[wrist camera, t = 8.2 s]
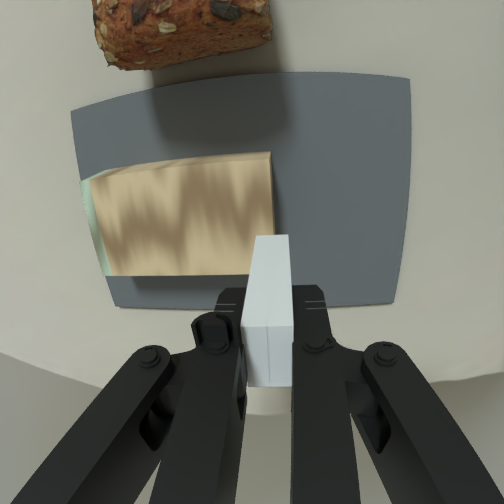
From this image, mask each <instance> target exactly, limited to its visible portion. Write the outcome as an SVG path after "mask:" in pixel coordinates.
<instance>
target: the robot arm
mask: <svg viewBox="0 0 504 504" xmlns="http://www.w3.org/2000/svg"><path fill="white" fill-rule="evenodd" d="M191 328H192V332H193V336H194V340H195V344H196V348H195V349H193V350H191V351H187V352H183V353H178V354H172V355H170V353H169V352H168V350H167V349H166V348H164V347H162V346H158V345H150V346H145V347H143V348H140V349H138V350H137V351H136V352H135V353H133V354H132V355H131V357H130V358H129V359H128V360H127V361H126V362H125V364H124V365H123V366H122V367H121V368H120V369H119V371H118V372H117V373H116V374H115V375H114V377H113V378H112V379H111V380H110V381H109V382H108V384H107V385H106V386H105V387H104V388H103V390H102V391H101V392H100V393H99V394H98V396H97V397H96V398H95V399H94V400H93V402H92V403H91V404H90V405H89V407H88V408H87V409H86V410H85V411H84V412H83V414H82V415H81V416H80V417H79V418H78V420H77V421H76V422H75V423H74V425H73V426H72V427H71V428H70V429H69V431H68V432H67V433H66V434H65V436H64V437H63V438H62V439H61V440H60V442H59V443H58V444H57V445H56V446H55V448H54V449H53V450H52V452H51V453H50V454H49V455H48V456H47V458H46V459H45V460H44V461H43V463H42V464H41V465H40V467H39V468H38V469H37V470H36V471H35V473H34V474H33V475H32V477H31V478H30V479H29V480H28V482H27V483H26V484H25V486H24V487H23V488H22V489H21V491H20V492H19V493H18V495H17V496H16V497H15V498H14V500H13V501H12V502H11V504H134V502H135V501H136V499H137V498H138V496H139V494H140V492H141V491H142V490H143V488H144V486H145V485H146V483H147V482H148V480H149V478H150V477H151V475H152V474H153V472H154V470H155V469H156V467H157V465H158V464H159V462H160V460H161V462H160V466H159V469H158V472H157V476H156V479H155V483H154V486H153V490H152V494H151V497H150V501H149V504H235V496H236V488H237V481H238V473H239V465H240V457H241V448H242V440H243V432H244V423H245V415H246V406H247V394H246V386H247V382H248V387H292V399H291V412H292V425H291V428H292V431H291V432H292V433H291V437H292V438H291V490H290V504H361V501H360V491H359V482H358V481H359V480H358V471H357V463H356V455H355V447H354V440H353V432H352V425H351V418H350V413H351V416H352V418H353V420H354V422H355V424H356V427H357V429H358V431H359V433H360V435H361V437H362V439H363V442H364V444H365V446H366V448H367V450H368V452H369V454H370V456H371V459H372V461H373V463H374V465H375V467H376V470H377V472H378V474H379V476H380V478H381V480H382V483H383V485H384V487H385V489H386V491H387V494H388V496H389V498H390V500H391V502H392V504H504V498H503V496H502V495H501V493H500V491H499V489H498V488H497V486H496V484H495V483H494V481H493V479H492V478H491V476H490V474H489V473H488V471H487V470H486V468H485V466H484V465H483V463H482V461H481V460H480V458H479V457H478V455H477V453H476V452H475V450H474V449H473V447H472V446H471V445H470V443H469V441H468V440H467V438H466V436H465V435H464V434H463V432H462V431H461V429H460V428H459V426H458V425H457V423H456V422H455V420H454V419H453V417H452V416H451V414H450V413H449V411H448V410H447V408H446V407H445V406H444V404H443V403H442V401H441V400H440V399H439V397H438V396H437V394H436V393H435V391H434V390H433V389H432V387H431V386H430V384H429V383H428V382H427V380H426V379H425V378H424V376H423V375H422V373H421V372H420V371H419V369H418V368H417V367H416V365H415V364H414V363H413V361H412V360H411V359H410V357H409V356H408V355H407V353H406V352H405V351H404V350H403V349H402V348H401V347H400V346H398V345H396V344H394V343H391V342H384V341H383V342H376V343H373V344H371V345H369V346H368V347H367V348H366V350H365V351H364V352H363V351H357V350H352V349H348V348H345V347H343V346H341V345H340V344H338V343H337V342H336V340H335V338H334V337H333V336H332V333H331V328H330V322H329V317H328V312H327V309H326V303H325V298H324V293H323V291H322V290H321V289H320V288H319V287H318V286H317V285H316V284H314V285H291V269H290V253H289V239H288V235H261V236H256V239H255V245H254V251H253V256H252V262H251V268H250V273H249V279H248V285H247V287H236V288H225V289H224V290H223V291H222V292H221V293H220V294H219V296H218V299H217V302H216V305H215V309H214V312H208V313H205V314H202V315H200V316H199V317H197V318H196V319H194V321H193V322H192V324H191Z"/></svg>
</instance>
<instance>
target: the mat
mask: <svg viewBox="0 0 504 504" xmlns="http://www.w3.org/2000/svg"><path fill="white" fill-rule="evenodd" d="M71 120H72V128H73V136H74V143H75V150H76V156H77V162H78V168H79V173H80V178H81V181H82V180H84V179H86V178H88V177H91V176H93V175H95V174H97V173H100V172H102V171H104V170H109V169H115V168H120V167H126V166H133V165H139V164H146V163H153V162H160V161H167V160H175V159H184V158H193V157H202V156H212V155H224V154H236V153H250V152H268V151H271V165H272V181H273V199H274V218H275V235H288V239H289V253H290V269H291V285H314V284H316V285H317V286H318V287H319V288H320V289H321V290H322V291H323V293H324V298H325V303H326V307H331V306H350V305H366V304H381V303H394V298H395V293H396V288H397V283H398V277H399V271H400V265H401V258H402V252H403V245H404V237H405V229H406V220H407V210H408V199H409V185H410V168H411V94H410V79H408V78H400V77H392V76H383V75H372V74H359V73H340V72H280V73H261V74H248V75H237V76H227V77H219V78H211V79H204V80H197V81H190V82H184V83H179V84H173V85H168V86H163V87H158V88H153V89H148V90H144V91H140V92H135V93H131V94H127V95H123V96H120V97H116V98H112V99H109V100H105V101H102V102H98V103H95V104H92V105H88V106H85V107H82V108H79V109H76V110H73V111H71ZM105 277H106V280H107V283H108V286H109V289H110V292H111V295H112V298H113V301H114V304H115V306H118V307H141V308H173V309H215V305H216V302H217V299H218V296H219V294H220V293H221V292H222V291H223V290H224V289H225V288H236V287H247V285H248V279H249V274H237V275H178V276H105Z"/></svg>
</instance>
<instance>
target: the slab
mask: <svg viewBox="0 0 504 504" xmlns="http://www.w3.org/2000/svg"><path fill="white" fill-rule="evenodd" d="M79 183H80V188H81V193H82V198H83V202H84V207H85V211H86V215H87V219H88V223H89V227H90V231H91V235H92V239H93V243H94V246H95V250H96V253H97V257H98V260H99V263H100V267H101V270H102V273H103V276H178V275H237V274H249V273H250V268H251V262H252V256H253V251H254V245H255V239H256V236H261V235H275V218H274V199H273V181H272V165H271V151H268V152H250V153H236V154H224V155H212V156H202V157H193V158H184V159H175V160H167V161H160V162H153V163H146V164H139V165H133V166H126V167H120V168H115V169H109V170H104V171H102V172H100V173H97V174H95V175H93V176H91V177H88V178H86V179H84V180H82V181H80V182H79Z"/></svg>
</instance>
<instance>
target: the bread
mask: <svg viewBox="0 0 504 504" xmlns="http://www.w3.org/2000/svg"><path fill="white" fill-rule="evenodd" d="M268 4H269V0H92V5H93V20H94V25H95V37H96V40H97V43H98V46H99V48H100V49H102V50H103V51H104V56H105V58H106V60H107V63H108V66H110V65H115V66H117V67H118V68H119V69H120V70H123V69H124V70H125V71H130V70H142V69H143V70H148V69H149V70H153V69H156V68H162V67H166V66H170V65H174V64H180V63H182V62H185V61H190V60H196V59H200V58H203V57H207V56H212V55H222V54H226V53H230V52H235V51H240V50H244V49H249V48H253V47H257V46H260V45H262V44H264V43H265V42H267V41H268V40H271V36H270V35H271V31H270V30H272V20H271V16H270V14H269V12H268V11H269V9H270V7H269V5H268ZM108 66H107V67H108Z"/></svg>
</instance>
